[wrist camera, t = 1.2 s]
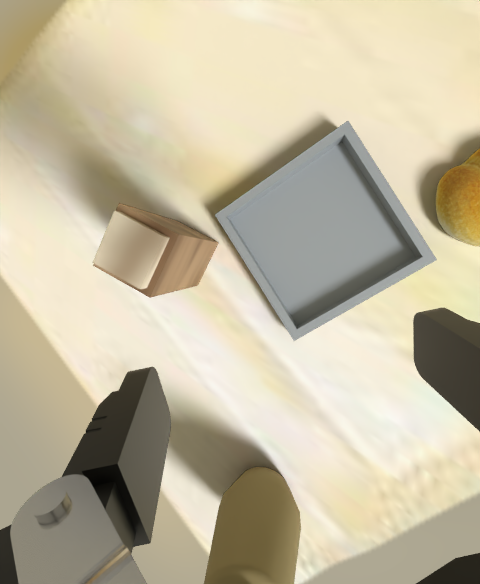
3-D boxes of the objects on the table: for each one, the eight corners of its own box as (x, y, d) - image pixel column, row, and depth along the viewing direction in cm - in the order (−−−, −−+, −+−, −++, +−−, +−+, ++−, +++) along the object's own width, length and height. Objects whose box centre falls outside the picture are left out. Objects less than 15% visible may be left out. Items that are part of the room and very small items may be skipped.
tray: (221, 218, 33) (214, 214, 30) (344, 131, 30) (348, 120, 27) (294, 334, 33) (294, 340, 30) (425, 259, 30) (436, 259, 27)
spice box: (157, 263, 34) (84, 265, 23) (177, 220, 34) (110, 200, 22) (197, 285, 34) (143, 299, 22) (218, 242, 33) (173, 233, 21)
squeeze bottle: (277, 539, 35) (254, 820, 18) (214, 498, 36) (132, 726, 18) (315, 483, 34) (331, 728, 16) (248, 441, 35) (194, 630, 17)
